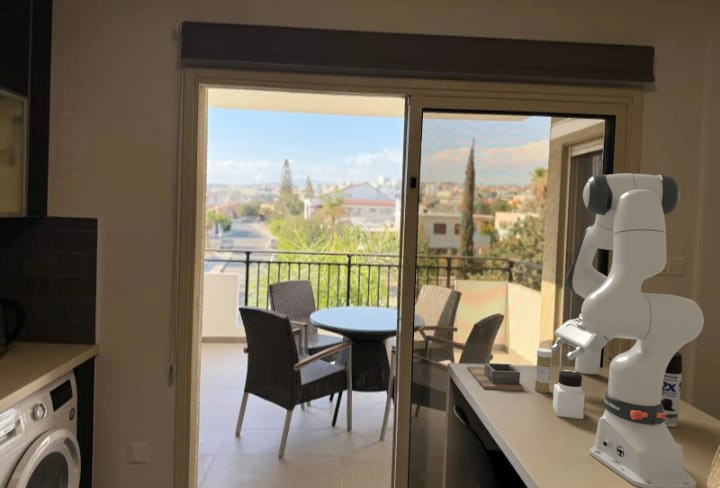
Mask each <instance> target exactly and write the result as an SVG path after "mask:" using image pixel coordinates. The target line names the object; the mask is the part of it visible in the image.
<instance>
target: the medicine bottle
mask: <svg viewBox="0 0 720 488" xmlns="http://www.w3.org/2000/svg"><path fill="white" fill-rule="evenodd" d="M582 381H583V375H582V373H579V372H577V371H575V370H567V369H564V370H561V371H559V373H558V383H554V385H553V393H552V394H553V396H552V408H553V410H554V413H555V415H556V416H557V417H561V418H568V419H569V418H570V419H577V420H578V419H579V420H583V419H584V417H585V403H586V394H585V392H584V391H583V390H582V385H583V384H582Z"/></svg>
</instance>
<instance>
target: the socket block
mask: <svg viewBox="0 0 720 488" xmlns="http://www.w3.org/2000/svg"><path fill="white" fill-rule="evenodd" d="M466 369H467V371H468V372H469V373H470V375H471V376H472V377H473V378H474V379H475V381H476V382H477V383H478V384H479V385H480V386H481V388H482V389H483V390H502V391H504V390H507V391H524V389H525V388H524V386H523V385H522V384H521V383H520V379H521V372H520V371H519V370H518V369H517V368H516V367H515V366H514V365H512V364H511V363H494V362H493V363H489V362H488V363H487V362H485V363H484V366H467V367H466Z"/></svg>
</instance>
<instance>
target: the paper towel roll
mask: <svg viewBox="0 0 720 488" xmlns="http://www.w3.org/2000/svg"><path fill="white" fill-rule="evenodd" d="M580 315H581V313H579V315H578V317H579V316H580ZM601 356H602V349H601V350H600V351H599V352H598V353H596V354H594V355H589V354H587V353H585V352H584V353H583V354H582V355H580V356H577V357H575V364H574V366H575V367H574V371H575V372H577V373H579V374H584V375H600V369H601V368H600V367H601Z"/></svg>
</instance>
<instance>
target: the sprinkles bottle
mask: <svg viewBox="0 0 720 488" xmlns="http://www.w3.org/2000/svg"><path fill="white" fill-rule="evenodd" d="M536 356H537V357H536V369H535V382H534V384H535V385H534V390H535V391H536V392H539V393H543V394H546V393H549V392H550V382H551V373H552V372H551V371H552V358H553V350H551V349H549V348H545V347H543V348H542V347H541V348H537V350H536Z"/></svg>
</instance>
